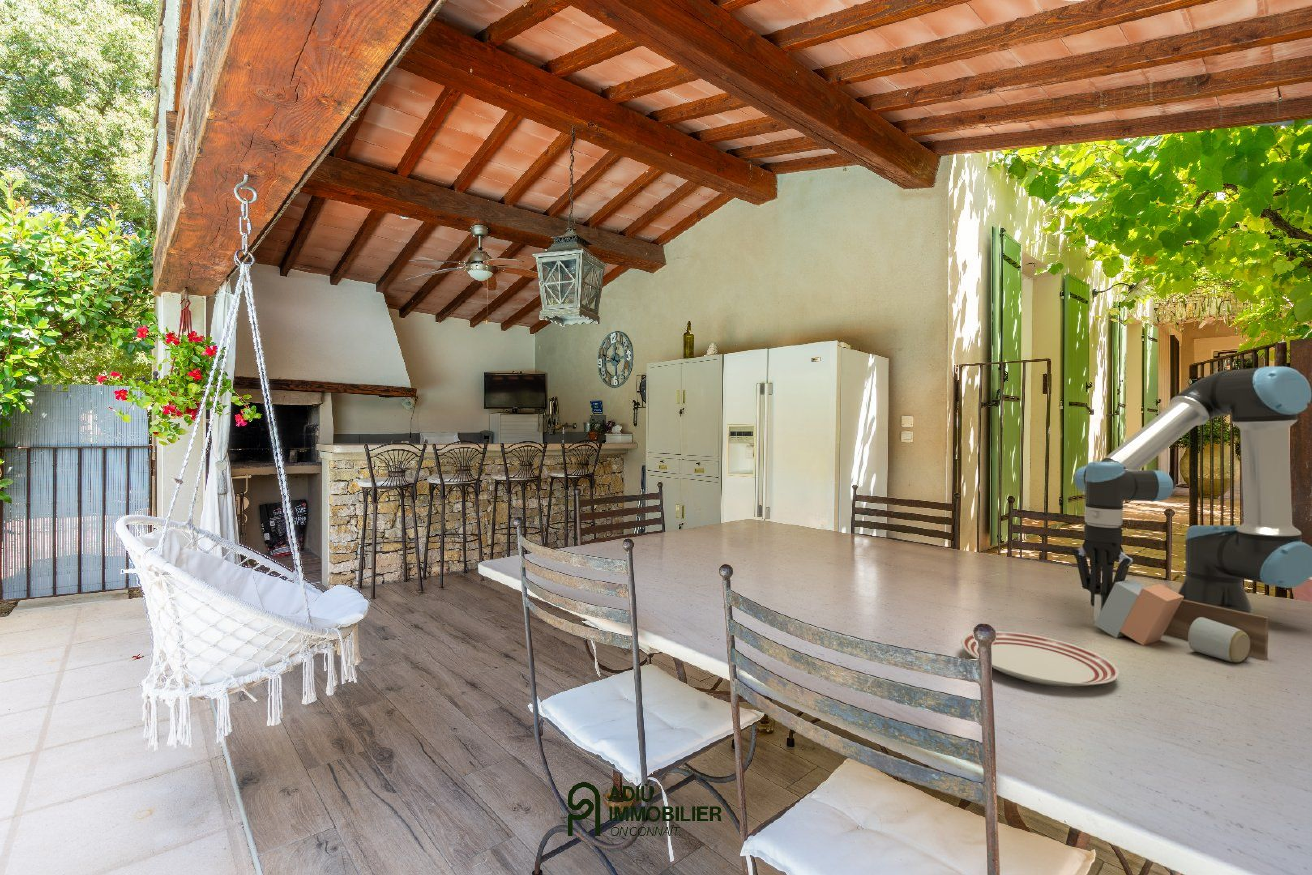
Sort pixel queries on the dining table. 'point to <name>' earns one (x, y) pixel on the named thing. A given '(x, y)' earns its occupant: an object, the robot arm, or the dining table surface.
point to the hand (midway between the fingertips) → (1100, 620)
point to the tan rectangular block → (1151, 614)
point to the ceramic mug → (1218, 640)
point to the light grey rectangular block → (1118, 606)
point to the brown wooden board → (1241, 620)
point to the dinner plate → (1045, 660)
